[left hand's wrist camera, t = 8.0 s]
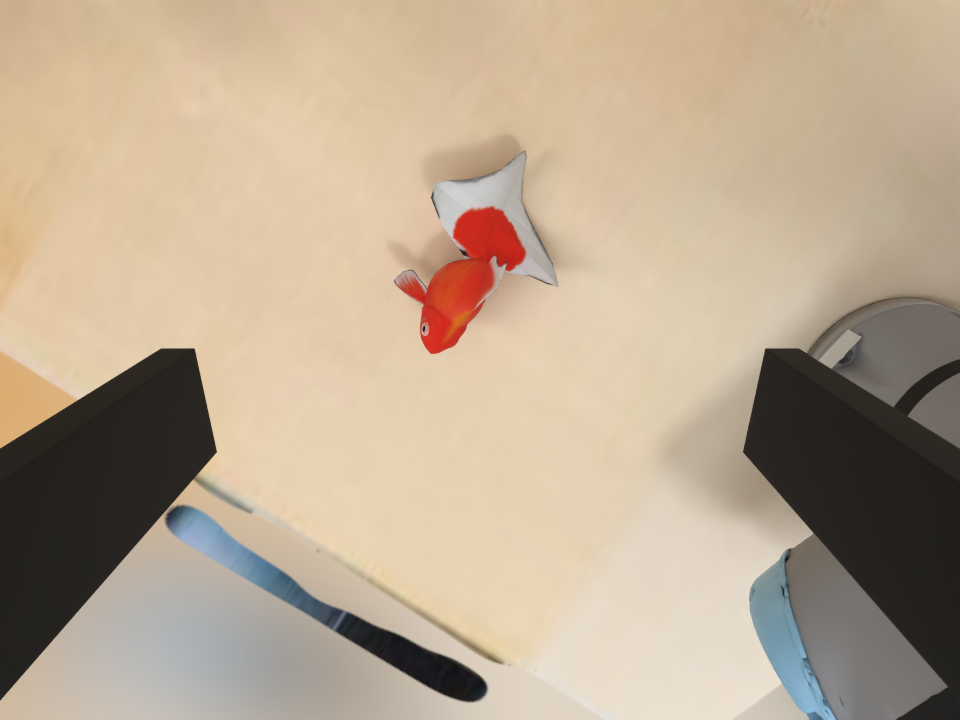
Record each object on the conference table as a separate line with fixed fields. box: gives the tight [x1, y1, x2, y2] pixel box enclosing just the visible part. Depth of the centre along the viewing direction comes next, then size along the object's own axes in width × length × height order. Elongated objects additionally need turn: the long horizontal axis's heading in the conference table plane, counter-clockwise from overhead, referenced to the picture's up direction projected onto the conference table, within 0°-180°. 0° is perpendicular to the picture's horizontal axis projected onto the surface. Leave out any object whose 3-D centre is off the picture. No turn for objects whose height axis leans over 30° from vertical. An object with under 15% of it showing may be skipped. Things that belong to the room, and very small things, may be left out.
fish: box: [394, 151, 559, 354], centre depth 39 cm, size 11×16×10 cm
